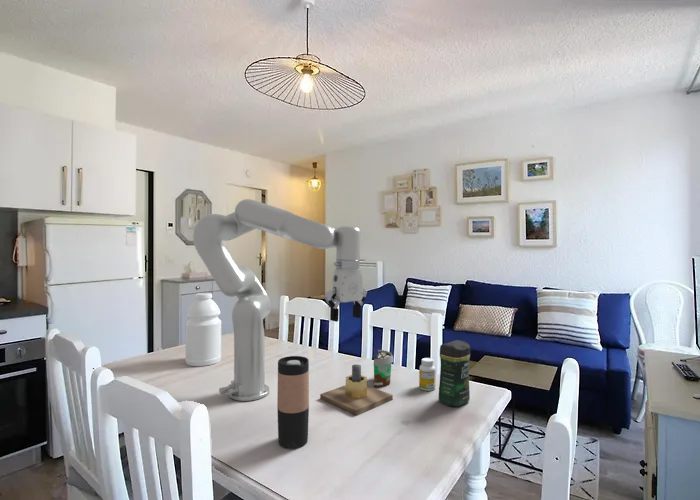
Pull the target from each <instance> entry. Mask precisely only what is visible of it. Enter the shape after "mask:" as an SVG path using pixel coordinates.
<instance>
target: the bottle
mask: <svg viewBox="0 0 700 500" xmlns="http://www.w3.org/2000/svg"><path fill="white" fill-rule="evenodd" d="M212 298H213V293H211V292H198V293H195V294H194V299H195V300H194V301H193V302H192V303H191V304H190V305H189V307H188V308H187V311H186V314H185V316H186V317H187V318H188V320H187V321H186V322H185V324H184V325H185V364H186V365H187V366H191V367H206V366H211V365H214V364H217V363H219V362H220V361H221V360H222V356H223V355H222V320H221V319H220V318H219V316H220V315H221V310H220V307H219V306H218V304H217V303H216V301H214V299H212Z"/></svg>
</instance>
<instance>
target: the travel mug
mask: <svg viewBox="0 0 700 500" xmlns="http://www.w3.org/2000/svg"><path fill="white" fill-rule="evenodd" d="M309 363H310V361H309V359H308V357H305V356H300V355H291V356H285V357H284V356H283V357H281V358H279V359H278V361H277V398H276V399H277V406H276V407H277V411H276V412H277V436H278V437H277V439H278V445H279V446H280V447H281V448H283V449H288V450H296V449H300V448H302V447H304V446H306V444H308V439H309V438H308V437H309V417H310V416H309V414H310V413H309V412H310V392H309V391H310V389H309V388H310V385H309V384H310V381H309V380H310V379H309V378H310V377H309V374H310V370H309V369H310V367H309V366H310V365H309Z"/></svg>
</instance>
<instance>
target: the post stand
mask: <svg viewBox="0 0 700 500" xmlns="http://www.w3.org/2000/svg"><path fill="white" fill-rule="evenodd" d="M351 375H352V381H361V375H362V365H360V364H352V365H351ZM319 396H320V397H319V399H320V400H322V401H324V402H327V403H328V404H330V405H333V406H334V407H337V408H338V409H340V410H344V411H345V412H348V413H350V414H352V415H354V416H355V417H357V416H360V415H361V414H363V413H366V412H368V411H370V410H372V409H375V408H377V407H379V406H382V405H384V404H386V403H389V402H391V401H392V400H394V399H393V394H392V393H389V392H386V391H384V390H381V389H378V388H377V387H374V386H370V385H368V384H367V397H364V398H362V399H351V398H349V397H346V384H345V385H342V386H339V387H336V388H334V389H330V390H328V391H325V392H323V393H320V394H319Z"/></svg>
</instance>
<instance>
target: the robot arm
mask: <svg viewBox="0 0 700 500" xmlns="http://www.w3.org/2000/svg"><path fill="white" fill-rule="evenodd" d="M256 229H257V230H260V231H262V232H266V233H269V234H272V235H275V236H276V237H277V236H278V237H280V238H284V239H289V240H290V241H291V240H292V241H295V242H297V243H301V244H303V245H307V246H310V247H313V248H315V249H320V250H326V249H328V250H329V249H335V248H336V250H335V251H336V252H335V261H334V263H333V265H334V266H335V269H334V271H333V275H332V281H331V289H330V290H329V291H328V292H326V293H325V294H324V299H325V302H326V304H327V305H328V308H330V313H329V316H330V317H329V319H330V321H332V322H336V323H337V322H339V317H340V316H339V314H340V310H339V308H338V307H339V306H340V303H352V302H353V303H354V304H352V317H353V318H357V319H361V317H362V306H363V305H364V302H365V300H366V297H367V294H368V292H367V290H366V289H364V283H363V273H362V269H360V258H361V257H360V256H361V255H360V252H361V229H360V228H359V227H357V226H339V227H336V226H329V225H328V224H325V223H321V222H318V221H314V220H312V219H308V218H306V217H302V216H299V215H297V214H294V213H292V211H289V210H286V209H282V208H280V207H276V206H272V205H271V204H267V203H263V202H261V201H259V200H258V201H257V200H254V199H250V198H245V199H242V200H240V201H239V202H238V203H237V204H236V206H235V208H234V211H233V212H232V213H230V214H226V215H225V214H223V215H222V214H218V213H209V214H206V215H204V216H202V217H201V218H200V219H199V220H198V221H197V222H196V225H195V227H194V229H193V235H192V239H193V245H194V248H195V250H196V253H197V254H198V256H199V257H200V259H201V260H202V262H203V264H204V265H205V267H206V268H207V271H208V272H209V273H210V275H211V277H212V278H213V280H214V282H215V284H216V285H217V287H218V289H219V290H220V292H221V293H222V294H223V295H224V296H227V297H229V298H230V297H231V298H232V297H236V298H237V300H236V302H235V304H234V305H233V307H232V311H231V321H232V328H233V357H234V358H233V368H234V369H233V380H231V381H230V384H228V385H227V386H221V387H219V388H218V392H219V394H220V395H224V394H227V395H228V396H229V398H230V399H232V400H234V401H241V402H247V401H256V400H261V399H263V398H265V397H266V396H267V395H269V394H270V387H269V386H268V385H267V384H265V355H266V354H265V352H266V351H265V330H264V321H263V320H265V318H267V317H268V316H269V315H270V313H271V311H272V302H271V299H270V297H269V295H268V293H267V292H266V290H265V288H264V287H263V286H262V283H261V282H260V281H259V279H258V277H257V276H256V274H255V273H254V271H252V270H251V269H250V268H249V267H246V266H243V265H242V266H241V265H238V264H237V262H236V261H235V259H234V257H233V255H232V254H231V252H230V251H229V250H228V248H227V247H226V246H225V245H224V244H223V242H225V241H226V242H228V241H231V240H234V239H235V240H236V239H237V238H239V237H241V236H243V235H245V234H247V233H250V232H252V231H254V230H256ZM222 241H223V242H222Z"/></svg>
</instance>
